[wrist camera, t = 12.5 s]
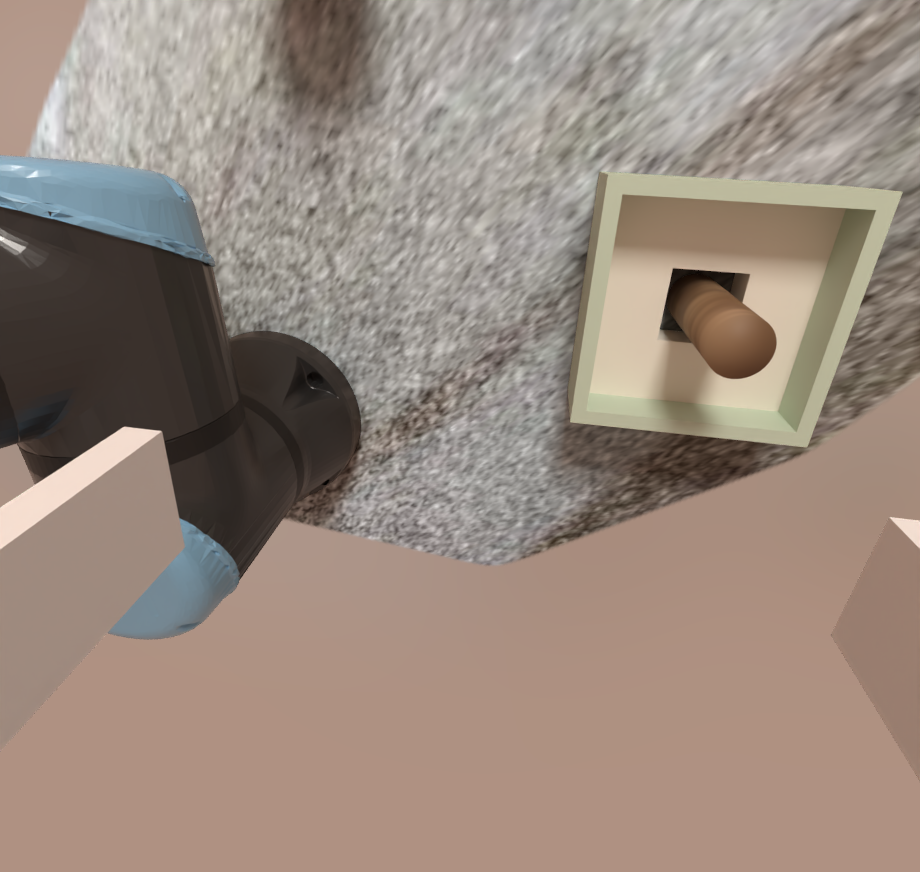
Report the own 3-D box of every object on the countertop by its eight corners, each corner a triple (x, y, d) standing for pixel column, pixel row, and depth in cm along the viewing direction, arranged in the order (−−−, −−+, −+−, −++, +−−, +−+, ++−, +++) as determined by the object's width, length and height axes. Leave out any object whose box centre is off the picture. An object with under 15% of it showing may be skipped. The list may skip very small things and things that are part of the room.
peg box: (567, 388, 46) (570, 422, 40) (599, 171, 38) (608, 174, 33) (773, 409, 44) (807, 447, 38) (847, 186, 37) (902, 192, 31)
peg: (662, 320, 42) (698, 375, 32) (672, 271, 41) (714, 312, 30) (711, 324, 42) (765, 382, 31) (724, 275, 40) (785, 318, 30)
